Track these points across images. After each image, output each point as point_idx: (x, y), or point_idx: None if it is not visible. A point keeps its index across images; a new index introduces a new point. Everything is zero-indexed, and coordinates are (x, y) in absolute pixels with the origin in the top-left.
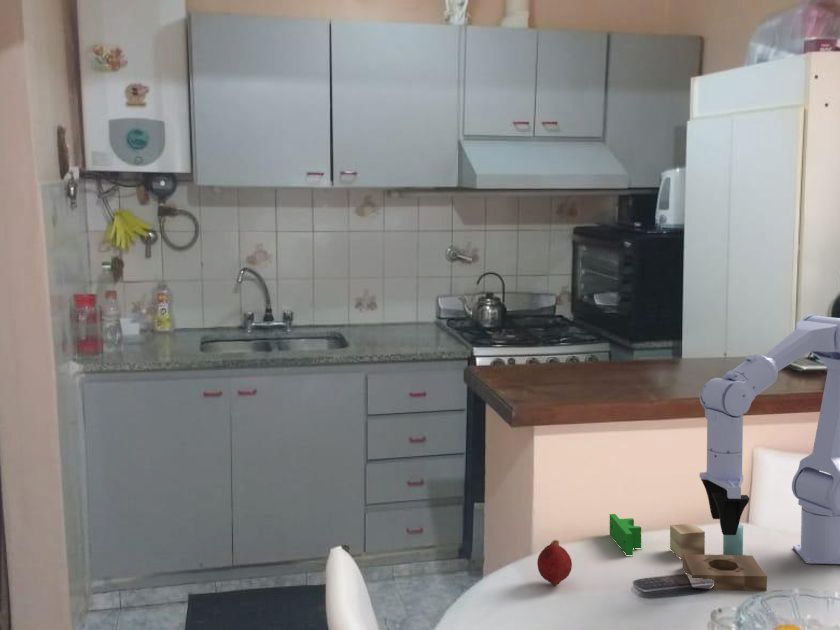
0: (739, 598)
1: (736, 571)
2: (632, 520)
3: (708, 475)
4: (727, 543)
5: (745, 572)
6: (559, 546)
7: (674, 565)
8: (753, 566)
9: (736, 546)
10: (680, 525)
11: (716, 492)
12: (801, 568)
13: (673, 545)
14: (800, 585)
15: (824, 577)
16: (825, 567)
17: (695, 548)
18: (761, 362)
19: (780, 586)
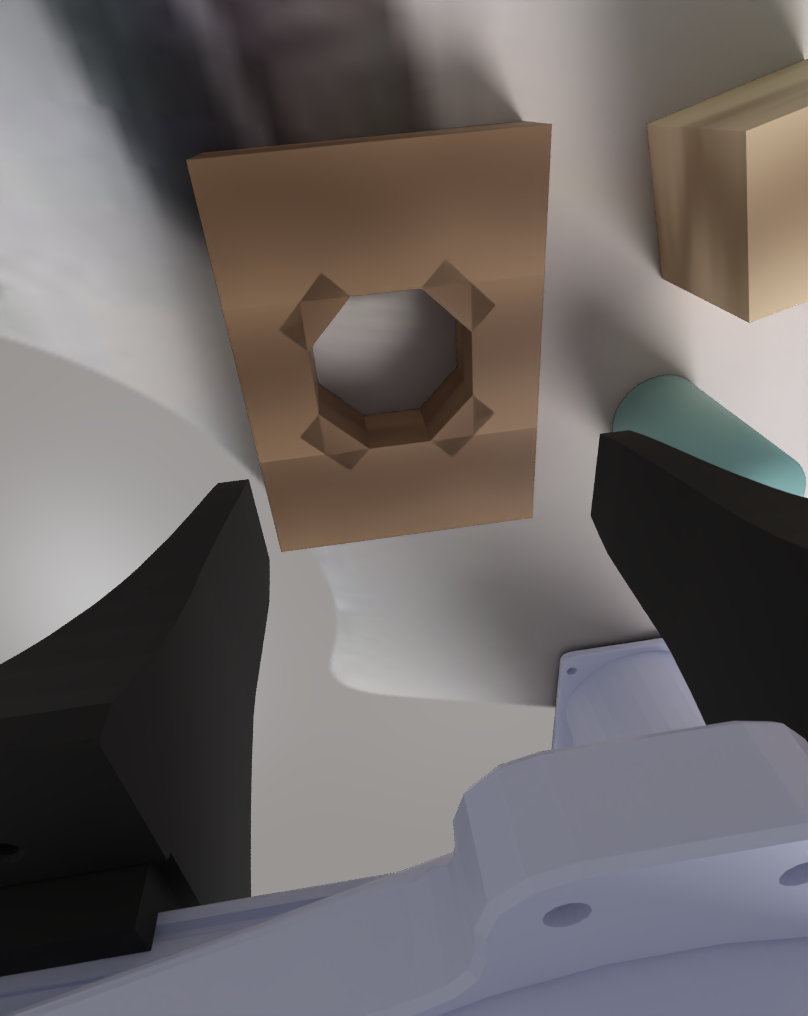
0: (161, 398)
1: (311, 432)
2: None
3: (523, 986)
4: (669, 426)
5: (307, 471)
6: None
7: (560, 64)
8: (394, 511)
9: None
10: None
11: (739, 620)
12: (525, 633)
13: (787, 78)
14: (367, 618)
15: (450, 682)
16: (535, 691)
17: (687, 234)
18: None
19: (344, 561)
